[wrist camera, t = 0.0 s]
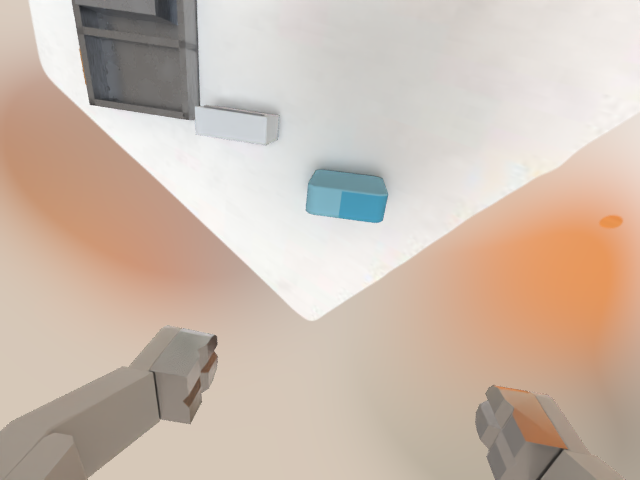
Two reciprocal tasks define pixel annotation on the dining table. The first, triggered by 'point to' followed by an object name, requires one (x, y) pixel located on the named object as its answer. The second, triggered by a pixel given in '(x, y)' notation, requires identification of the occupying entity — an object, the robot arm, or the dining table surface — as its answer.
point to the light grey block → (236, 124)
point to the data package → (346, 196)
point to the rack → (140, 55)
